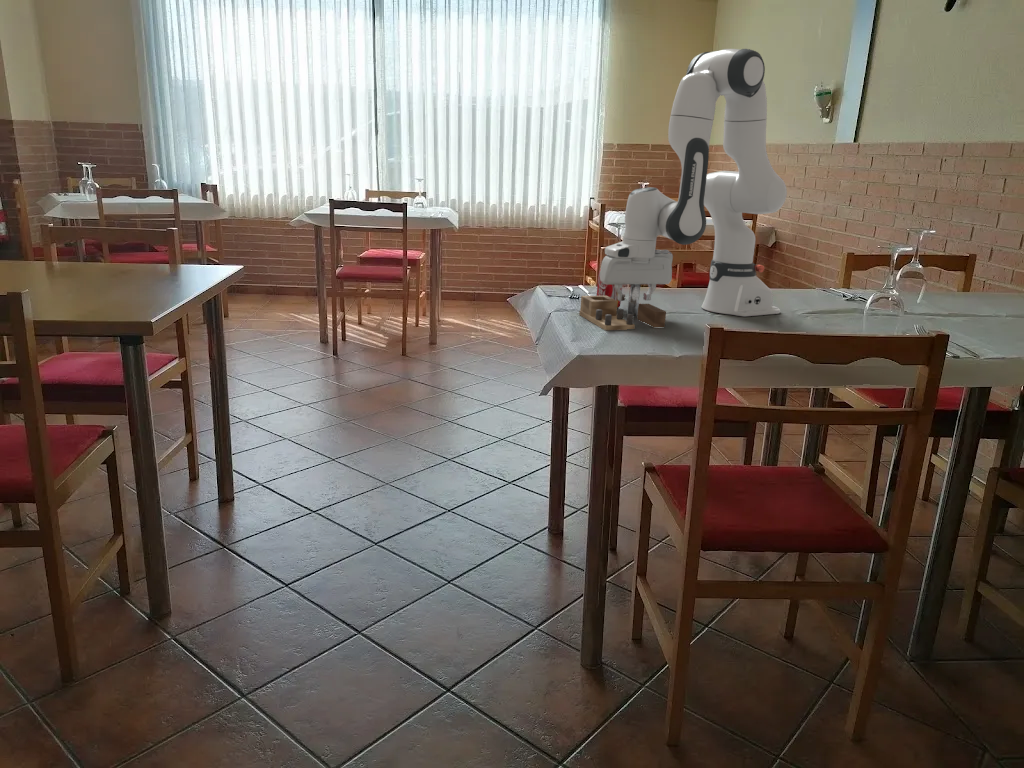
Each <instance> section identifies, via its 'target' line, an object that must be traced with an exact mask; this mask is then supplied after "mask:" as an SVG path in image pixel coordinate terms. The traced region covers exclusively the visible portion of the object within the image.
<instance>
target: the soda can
mask: <svg viewBox="0 0 1024 768" xmlns="http://www.w3.org/2000/svg"><path fill="white" fill-rule="evenodd" d="M600 270H601V268H600V269H599V271H598V275H597V283H596V285H597V287H596V296H608V297H610V298H613V299H615V300H617V296H618V293H617V292H616V290H615V287H614V285H607V284H604V283H602V282H601V280H600ZM620 289H621V292H622V293H623V287H622V288H620ZM617 301H618V302H617V309H619V308H620V307H621V303H622V301H619V300H617Z"/></svg>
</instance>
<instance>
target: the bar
mask: <svg viewBox="0 0 1024 768" xmlns="http://www.w3.org/2000/svg"><path fill="white" fill-rule="evenodd" d="M666 318H667V311H666V310H664V309H661V308H660V307H657V306H654V305H653V304H650V303H639V305H638V315H637V316H636V320H637V319H638V320H637V321H639V320H640V321H639V322H641V321H642V322H641V323H643V322H645V323H647V324H649V325H651V326H653V327H665V326H666ZM645 323H644V324H645ZM647 324H646V325H647ZM649 325H648V326H649ZM651 326H650V327H651ZM653 327H652V328H653Z"/></svg>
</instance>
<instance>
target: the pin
mask: <svg viewBox="0 0 1024 768" xmlns="http://www.w3.org/2000/svg"><path fill="white" fill-rule="evenodd" d="M641 285H642V284H629V293H628V303H627V304H628V306H627V314H633V315H634V316H633V317H637V315H638V305H639V304H640V297H641V296H640V294H641Z"/></svg>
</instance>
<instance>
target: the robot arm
mask: <svg viewBox="0 0 1024 768" xmlns="http://www.w3.org/2000/svg"><path fill="white" fill-rule="evenodd" d="M765 70H766V66H765V62H764V59H763V57H762V55H761V54H760V53H759V51H756V50H754V49H751V48H742V49H739V48H723V49H720V50H714V51H704V52H701V53H699V54H698V55H695V56H693V59H691V61H690V63H689V64H688V67H687V70H686V73H685V74H686V75H684V76H683V77H682V78H681V79H680V82H679V85H678V87H677V90H676V93H675V96H674V100H673V101H672V107H671V112H670V116H669V122H668V134H667V135H668V138H667V139H668V143H669V145H670V147H671V149H672V150H673V151H674V152H675V154H676V155H677V157H678V159H679V161H680V165H681V174H680V175H681V176H680V182H679V183H680V185H679V192H678V200H677V201H676V200H675V199H672V198H670V197H669V196H666V195H665V194H664V193H662V192H661V191H660V190H659V189H658V188H657V187H641V188H635V189H634V190H632V191H631V192H630V193H629V195H628V196H627V197H628V198H627V201H626V207H625V214H624V228H625V229H624V233H623V236H622V241H619V242H617V243H613V244H611V245H608V246H605V248H604V254H605V256H604V257H603V259H602V261H601V265H600V269H601V270H600V269H599V271H600V280H601V282H602V283H604V284H607V285H614V287H615V290H616V292H617V293H618V296H617V300H619V301H621V302H622V301H625V300H626V298H625V297H626V294H625V293H623V291H622V292H621V289H620V288H622V289H623V285H630V284H641V285H647V287H648V289H647V291H646V292H643V297H642V298H643V301H651V300H652V294H653V293H654V291H655V290H656V289H657V285H669V284H670V283H671V282H672V276H673V267H672V266H673V265H672V264H673V258H674V255H673V253H672V252H671V251H669V250H668V249H656V246H657V238H658V236H662V237H665V238H667V239H669V240H672V241H674V243H677V244H680V245H682V246H684V245H687V246H688V245H691V244H694V243H695V242H697V241H698V240H699V239H700V238H701V237H702V236H703V234H704V233H705V230H706V227H707V215H706V212H705V211H706V210H707V211H708V213H709V214H710V217H711V220H712V222H713V229H714V243H713V244H714V246H713V247H714V248H713V254H712V255H713V256H712V259H711V261H710V268H709V282H708V286H707V290H706V294H705V296H704V300H703V302H702V305H701V308H702V309H703V310H705V311H708V312H713V313H719V314H725V315H733V316H738V317H751V316H752V317H753V316H763V315H765V316H766V315H775V314H777V315H778V314H780V313H781V310H780V308H779V307H777V306H775V305H774V295H773V291H772V289H771V288H770V287H768V286H767V285H766V284H765V282H763V281H762V280H761V279H760V278H759V277H758V276H757V272H759V273H763V272H764V271H765V266H764V265H762V264H757V265H756V264H755V263H754V262H753V261H754V254H755V247H756V234H755V233H754V231H753V230H752V229H751V228H749V227H748V226H747V225H746V223H745V222H744V217H743V214H745V213H746V214H753V215H766V214H773V213H774V214H775V213H777V212H778V211H779V210H781V209H782V207H783V206H784V204H785V202H786V200H787V194H788V190H787V189H788V188H787V185H786V183H785V181H784V179H783V178H781V177H780V176H779V175H778V173H777V172H776V171H775V170H774V167H773V166H772V164H771V162H770V159H769V156H768V152H767V119H768V118H767V116H768V101H767V100H768V99H767V97H768V96H767V90H766V89H767V88H766V84H765V81H764V78H765V72H766V71H765ZM720 96H723V97H724V99H725V106H724V117H723V118H724V120H723V142H722V146H723V147H722V148H723V151H724V153H725V154H726V155H727V156H728V157H730V159H732V160H733V161H734V162H735V164H736V166H737V169H738V171H733V170H732V171H731V170H721V171H714V172H709V173H708V169H709V159H710V157H709V156H710V142H711V135H712V130H713V125H714V119H715V115H716V113H715V112H716V103H717V101H718V99H719V98H720ZM705 208H706V210H705Z"/></svg>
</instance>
